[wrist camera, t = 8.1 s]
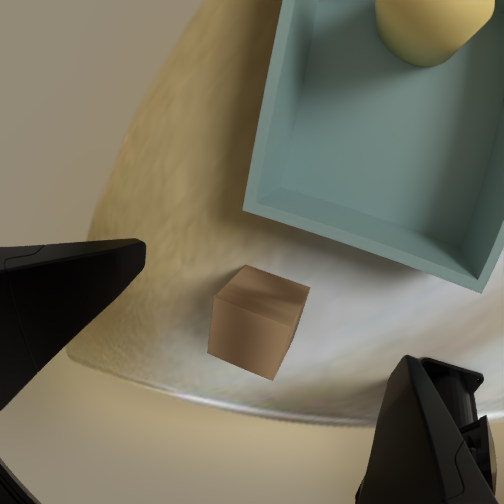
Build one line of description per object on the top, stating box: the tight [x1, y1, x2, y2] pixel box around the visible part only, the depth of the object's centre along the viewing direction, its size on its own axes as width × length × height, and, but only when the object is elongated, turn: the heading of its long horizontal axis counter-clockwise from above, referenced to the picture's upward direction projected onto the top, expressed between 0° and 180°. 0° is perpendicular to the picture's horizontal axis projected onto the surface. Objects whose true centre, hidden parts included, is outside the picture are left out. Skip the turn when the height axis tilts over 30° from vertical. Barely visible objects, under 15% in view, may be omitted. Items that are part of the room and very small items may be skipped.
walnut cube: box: [207, 265, 310, 381], centre depth 21 cm, size 5×5×5 cm
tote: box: [242, 0, 504, 294], centre depth 12 cm, size 13×17×5 cm
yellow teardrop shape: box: [375, 0, 495, 67], centre depth 9 cm, size 5×5×7 cm
